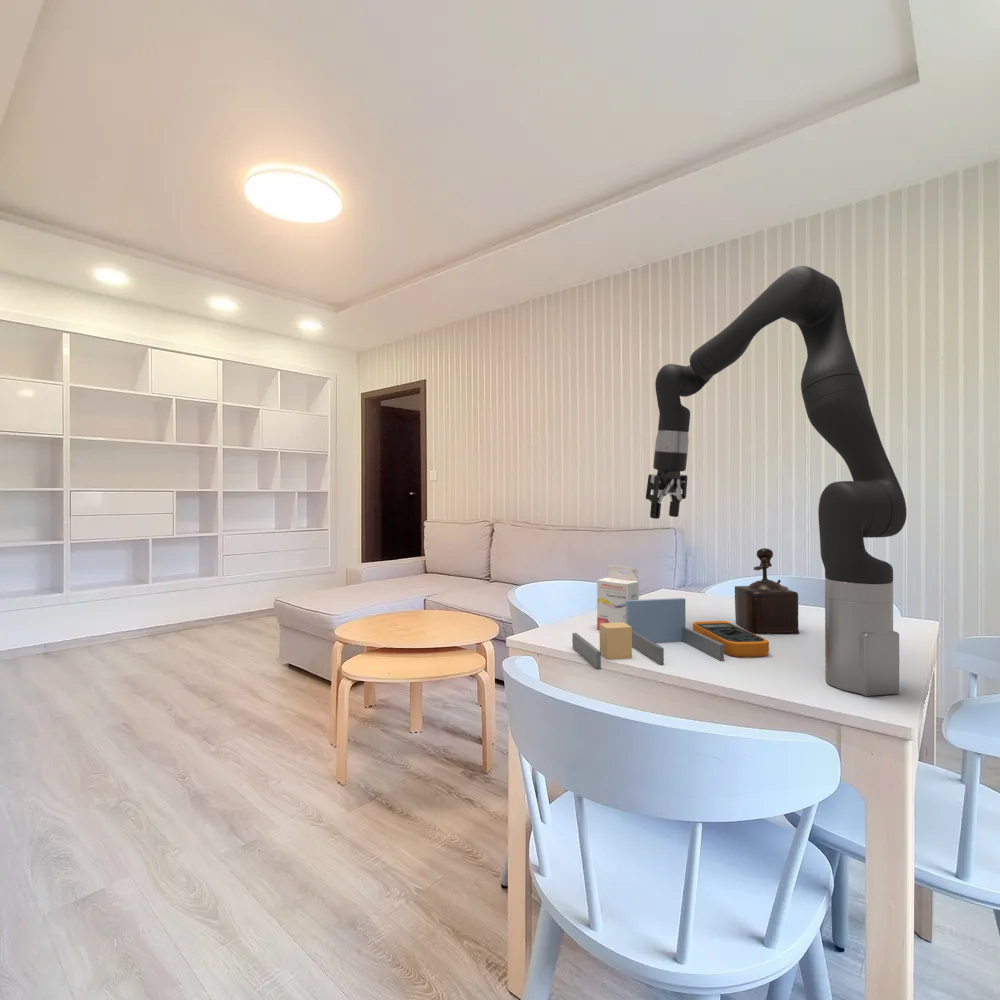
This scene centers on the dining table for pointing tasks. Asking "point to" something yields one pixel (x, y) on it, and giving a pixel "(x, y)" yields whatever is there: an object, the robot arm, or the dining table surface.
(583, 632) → the dining table surface
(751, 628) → the manual coffee grinder
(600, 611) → the ink cartridge box
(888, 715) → the dining table surface
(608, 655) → the tan wooden cube
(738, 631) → the multimeter
